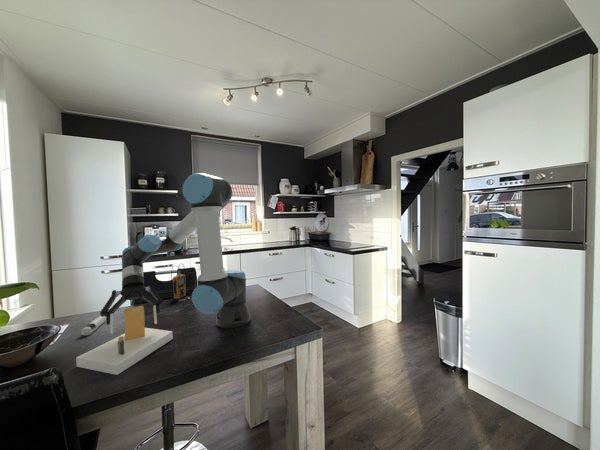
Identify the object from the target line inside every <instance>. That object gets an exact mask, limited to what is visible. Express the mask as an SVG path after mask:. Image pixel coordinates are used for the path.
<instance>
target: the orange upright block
mask: <svg viewBox="0 0 600 450" xmlns="http://www.w3.org/2000/svg"><path fill="white" fill-rule="evenodd" d="M123 315H124V316H123V318H124V334H125V341H128V340H132V339H136V338H140V337H144V336H145V328H146V324H145V307H144V305H139V306H134V307H128V308H124V314H123Z"/></svg>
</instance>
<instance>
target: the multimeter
mask: <svg viewBox="0 0 600 450" xmlns="http://www.w3.org/2000/svg"><path fill="white" fill-rule="evenodd" d="M180 265H181V263H179V264H178V265H176V264H175V265H174V266H172V269H171V272H170V273H171V274H170V280H171V281H170V282H171V283H170V284H171V286H172V290H173V291H171V296H172V298H173V299H172V302H175V303H177V302H182V301H184V300H186V298H187V299H189V300H190V297H189V296H192V293H190V292H188V291H187V279H186V273H185V268H186V267H185V265H184V264H182V266H183V269H184V270H183V273H184V274H183V273H182V274H181V267H180ZM174 267H177V269H178V271H177V275H176V276H173V277H172V275H173V269H174ZM186 293H187V294H189V295H187V294H186ZM185 296H186V298H185V299H184V298H183V297H185ZM180 298H183V299H180Z"/></svg>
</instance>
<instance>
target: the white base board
mask: <svg viewBox="0 0 600 450" xmlns="http://www.w3.org/2000/svg"><path fill="white" fill-rule="evenodd" d="M173 333H174V332H173V331H172V330H165V329H158V328H152V327H151V328H149V327H145V336H144V337H140V338H136V339H132V340H128V341H125V333H122V334H120V335H119V336H116V337H115V338H113V339H110V340H109V341H107V342H105V343H103V344H101V345H99V346H96V347H95V348H92V349H90V350H89V351H86V352H85V353H82V354H80V355H78V356H76V358H75V360H76V368H77V367H78V368H83V369H86V370H87V369H88V370H91V371H96V372H101V373H106V374H110V375H115V376H118V375H119V374H121V373H122V372H124V371H125V370H127V369H129V368H130V367H132V366H133V365H135V364H136V363H138V362H139V361H142V360H143V359H144V358H145V357H147V356H149V355H150V354H152V353H154V351H156V350H157V349H159V348H161V347H163V346H164V345H166V344H168V342H170V341H172V340H173V338H174V336H173Z"/></svg>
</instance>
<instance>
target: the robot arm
mask: <svg viewBox="0 0 600 450" xmlns="http://www.w3.org/2000/svg"><path fill="white" fill-rule="evenodd" d="M182 195H183V197H184V199H185V200H186V201H187V202H188V203H190V209H191V211H190V212H189V213H188V214H187V215H186V216H185V217H184V218H183V219H182V220H180V222H179V223H178V224H177V225H175V226H174V228H172V229H171V231H170V232H168V233H167V234H166V235H165V236H158V235H156V234H153V233H148V234H146V235H144V236H142V238H140V239H139V240H138V242H136V244H135V245H132V246H131V245H129V246H127V247H126V248H124V249H123V250H122V253H121V279H122V280H121V290H115V289H113V290H112V291H111V295H110V296H109V299H108V300H107V302H106V303H105V305H104V306H103V307H102V308H101V309H102V310H101V311H100V312H99V314H100V316H101V317H104V316H105V317H106V321H105V323H106V325H107V326H109V333H110V335H112V334H114V314H115V312H117V310H119V308H120V307H121V306H122V305H124V303H126V302H127V301H133V300H139V299H141V300H144V301H146V302H147V303H148V304H149V305H151V306H152V307H153V308H152V310H153V311H152V312H153V321H154V325H157V324H158V316H157V315H160V307H161V306H163V305H164V303H165V301H164V299H163V298H162V297H161V295H160V294H159V293H158V292H157V291H156V289H154V285H153V284H150V285H149V286H145V280H144V279H145V278H144V263H145V261H146V260H148V259H149V257H151V256H154V255H157V254H158V255H159V254H164V253H165V254H166V253H172V252H176V251H178V250H180V249H182V248H183V245H184V241H185V240H187V239H188V238H189V237H190V236H191V235H192V234H193V233H194V232H196V231H197V232H196V235H197V243H198V244H197V245H198V255H199V256H198V259H199V266H200V267H199V268H200V275H199V276H198V277H197V278H196V285H197V286H196V287H195V288H194V290H193V291H192V293H191V302H192V304H193V306H194V307H195V309H197V310H198V311H199V312H201V313H203V314H204V315H205V314H207V315H208V314H209V315H210V314H211V315H212V314H214V313H216V312H217V314H216V318H215V325H216V326H217V327H219V328H222V329H235V328H236V329H237V328H239V327H240V328H241V327H243V326H245V325H247V324H249V322H251V312H250V309H249V307H248V304H247V283H246V282H247V278H246V273H245V271H243V270H224V261H223V260H224V259H223V249H222V237H221V225H220V224H221V223H220V214H219V212H220V211H222V210H223V209H224V208H225V207H226V206H227V205H228V204H229V203H230V201H231V200H232V197H233V188H232V186H231V184H230V183H229V181H227V179H225V178H222V177H219V176H216V175H215V176H214V175H210V174H207V173H200V172H196V173H192V174H190V175H189V176H187V179H185V180H184V183H183V185H182ZM146 291H147V292H149V293H150V294H151V296H152V297H153V298H152V297H151V296H150V295H148V294H147V293H146ZM120 295H121V297H120V298H119V299H118V300H117V302H115V300H116V298H118V297H119V296H120ZM114 302H115V304H114Z"/></svg>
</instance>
